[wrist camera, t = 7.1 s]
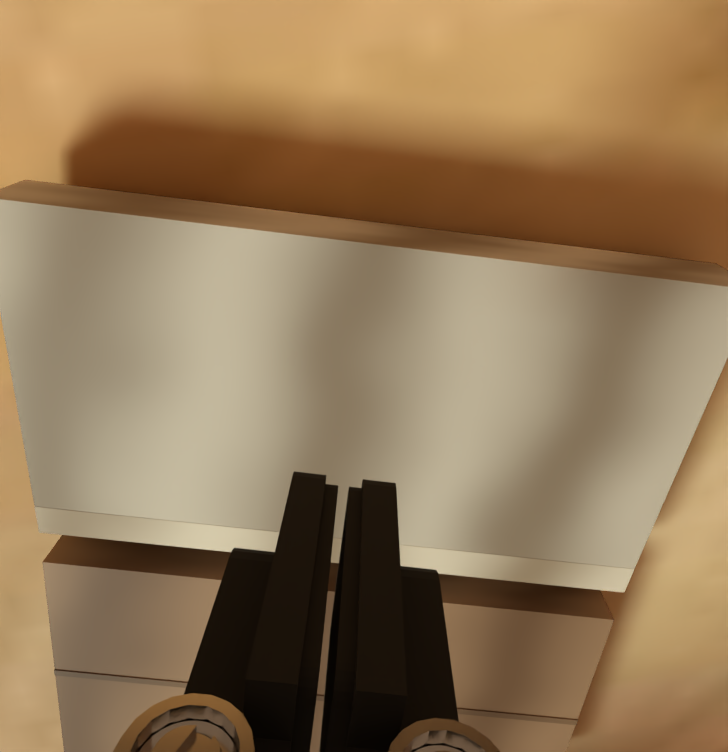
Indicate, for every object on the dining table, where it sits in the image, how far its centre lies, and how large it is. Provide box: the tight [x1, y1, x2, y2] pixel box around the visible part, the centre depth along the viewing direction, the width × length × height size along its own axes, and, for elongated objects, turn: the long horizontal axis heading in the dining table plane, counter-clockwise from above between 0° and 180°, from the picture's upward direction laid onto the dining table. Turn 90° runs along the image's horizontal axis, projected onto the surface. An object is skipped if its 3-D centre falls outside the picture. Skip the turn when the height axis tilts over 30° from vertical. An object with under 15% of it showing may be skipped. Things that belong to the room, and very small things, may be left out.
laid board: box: [43, 535, 614, 752], centre depth 22 cm, size 18×9×2 cm, turn 83°
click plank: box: [0, 180, 728, 593], centre depth 17 cm, size 18×10×2 cm, turn 83°
